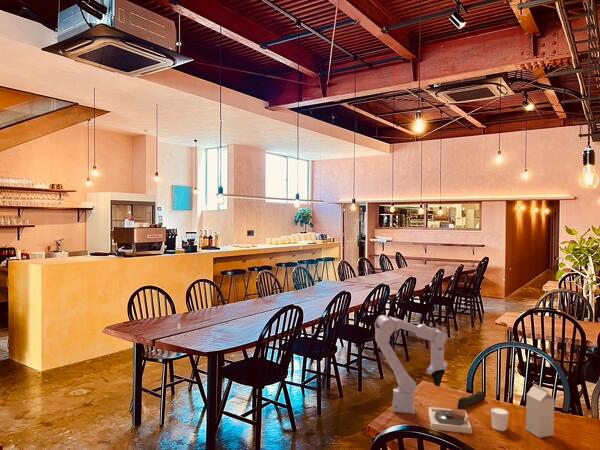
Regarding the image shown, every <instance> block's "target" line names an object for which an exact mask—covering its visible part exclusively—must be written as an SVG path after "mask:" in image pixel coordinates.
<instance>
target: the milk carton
mask: <svg viewBox="0 0 600 450" xmlns="http://www.w3.org/2000/svg"><path fill="white" fill-rule="evenodd" d="M525 403H526V405H525V406H526V411H525V412H526V413H525V430H526V431H528V432H529V433H531V434H533V435H534V436H536V437H537V438H539V439H541V438H545V437H546V438H547V437H551V436H552V437H553V436H554V430H555V429H554V427H555V426H554V425H555V398H554V396H552V395H551V394H550V393H549V390H548V389H547V388H544V387H542V386H540V385H537V384H536V383H533V386H532V387H531V389H529V391H528V392H527V393H526V402H525Z"/></svg>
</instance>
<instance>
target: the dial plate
mask: <svg viewBox="0 0 600 450" xmlns="http://www.w3.org/2000/svg"><path fill="white" fill-rule="evenodd" d="M451 409H452V408H443V407H441V408H440V407H432V406H429V407H428V411H427V412H428V419H429V424H430V429H431V430H435V431H446V432H456V433H462V434H463V433H464V434H472V435H473V430H472V425H471V422H470V418H469V417H468V414H467V412H466V416H465V418H464V423H463V424H461V425H450V424H443V423H440V422H438V421H437V420H436V419H435V413H436V412H438V411H442V410H448V411H451Z"/></svg>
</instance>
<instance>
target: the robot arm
mask: <svg viewBox="0 0 600 450" xmlns="http://www.w3.org/2000/svg"><path fill="white" fill-rule="evenodd" d="M374 329H375V330H374V332H375V334H374V337H375V339H374V340H375V342H376V344H377V345H378V348H379V349H380V351H381V352H382V354H383V356H384V357H385V359H386V361H387V363H388V364H389V366H390V367H391V369H392V371H393V372H394V376H395V380H396V383H397V385H398V386H397V388H393V389H392V390H393V392H392V396H393V398H392V412H394V413H395V412H396V413H404V414H412V415H415V414H416V409H415V390H416V388H417V383H416V381H415V380H414V379H412V377H411V376H410V375H409V373H408V372H407V371H406V369H405V368H404V366H403V364H402V363H401V361H400V359H399V358H398V356H397V354H396V352H395V351H394V349H393V347H392V345H391V344H390V343H389V339H390V337H391V336H392V335H393V333H394V332H395V331H398V330H400V329H402V330H404V331H408V332H411V333H414V334H415V335H416V336H417V337H418V338H420V339H424V340H426V341H430V365H429V366H428V368H426V374H428V375H431V378H432V380H433V384H434V386H436V387H440V386H441V385H442V379H443V377H444V375H445V373H446V370H447V367H448V362H447V361H445V343H446V342H447V339H448V338H447V337H446V336H447V335H446V334H445V333H444V332H443V331H441V330H440V329H438V328H437V327H434V326H433V327H431V326H427V325H426V323H420V324H416V325H415V324H413V323H411V322H407V321H404V320H402V319H400V318H397V317H392V316H390V315H389V316H388V315H384V314H381V315H378V316H377V318H376V319H375V322H374Z"/></svg>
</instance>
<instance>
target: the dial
mask: <svg viewBox="0 0 600 450" xmlns="http://www.w3.org/2000/svg"><path fill="white" fill-rule="evenodd" d="M450 409H451V411H448V410H442V411H438V412H436V413H435V419H436V420H437V421H438V422H440V423H443V424H450V425H461V424H463V423H464V418H465V416H466V413H467V411H466V409H458V408H457V409H456V408H450Z"/></svg>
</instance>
